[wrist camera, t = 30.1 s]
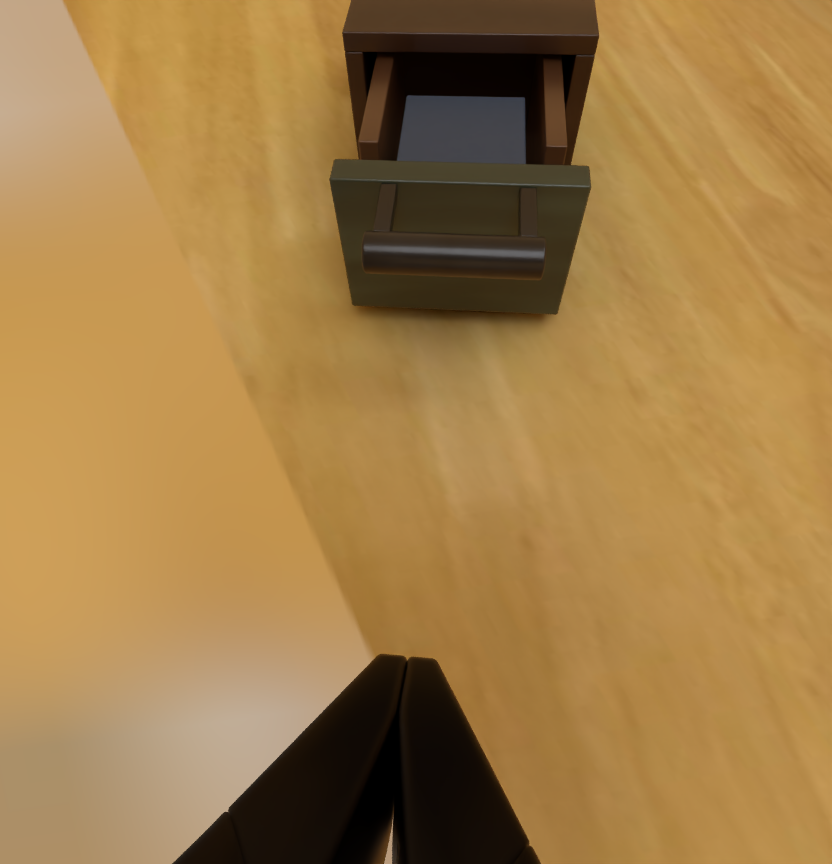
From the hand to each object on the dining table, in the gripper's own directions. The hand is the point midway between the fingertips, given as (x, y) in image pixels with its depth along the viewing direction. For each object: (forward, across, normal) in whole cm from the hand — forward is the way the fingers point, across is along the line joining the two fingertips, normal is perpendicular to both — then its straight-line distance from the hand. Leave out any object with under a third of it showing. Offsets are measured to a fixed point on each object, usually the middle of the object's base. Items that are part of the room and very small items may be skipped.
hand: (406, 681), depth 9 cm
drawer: (+23, 0, -7) cm, 24 cm away
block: (+22, 0, -8) cm, 23 cm away
